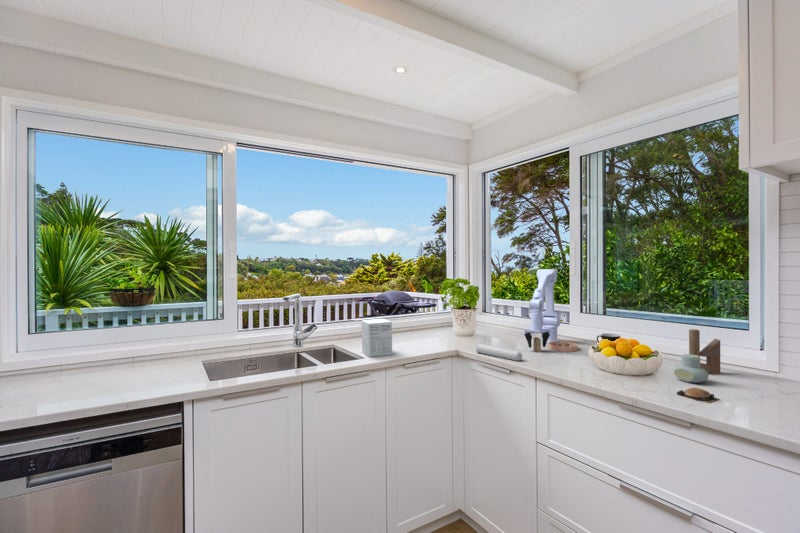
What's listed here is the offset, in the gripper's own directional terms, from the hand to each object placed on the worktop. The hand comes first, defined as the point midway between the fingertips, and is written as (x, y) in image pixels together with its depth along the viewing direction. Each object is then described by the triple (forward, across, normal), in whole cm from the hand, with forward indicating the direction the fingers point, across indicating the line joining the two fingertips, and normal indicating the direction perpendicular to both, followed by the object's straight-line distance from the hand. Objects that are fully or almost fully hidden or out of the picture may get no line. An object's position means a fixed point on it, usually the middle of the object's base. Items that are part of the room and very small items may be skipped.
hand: (537, 347), depth 209 cm
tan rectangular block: (+2, 0, 0) cm, 2 cm away
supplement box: (+2, -85, +6) cm, 85 cm away
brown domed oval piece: (+3, +26, -74) cm, 79 cm away
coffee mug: (+2, +33, -11) cm, 35 cm away
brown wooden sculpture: (+2, +52, -47) cm, 70 cm away
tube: (+3, -23, -9) cm, 25 cm away
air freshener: (+2, +38, -57) cm, 69 cm away
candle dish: (+2, +16, +4) cm, 17 cm away
